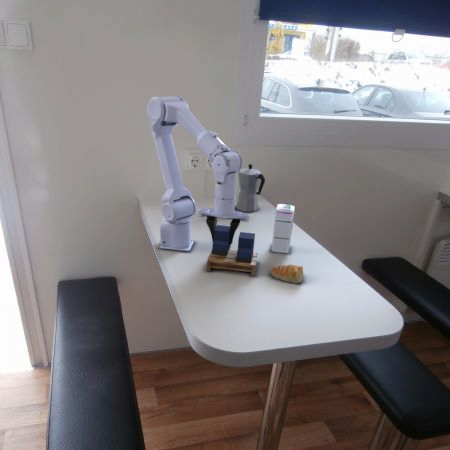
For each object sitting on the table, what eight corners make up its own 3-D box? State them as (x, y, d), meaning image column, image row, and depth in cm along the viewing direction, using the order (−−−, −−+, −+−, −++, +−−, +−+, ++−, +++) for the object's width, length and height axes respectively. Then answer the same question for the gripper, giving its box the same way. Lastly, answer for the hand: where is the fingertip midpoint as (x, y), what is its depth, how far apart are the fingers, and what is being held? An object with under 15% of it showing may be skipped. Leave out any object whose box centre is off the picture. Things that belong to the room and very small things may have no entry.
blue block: (216, 245, 123) (217, 224, 120) (230, 246, 123) (232, 226, 119) (211, 254, 117) (212, 233, 114) (226, 256, 117) (227, 235, 114)
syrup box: (288, 253, 133) (294, 210, 125) (270, 251, 133) (275, 208, 126) (289, 246, 137) (295, 205, 130) (272, 244, 138) (277, 203, 131)
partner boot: (238, 251, 123) (240, 231, 120) (253, 253, 123) (255, 233, 120) (236, 261, 117) (237, 240, 114) (251, 263, 117) (253, 242, 114)
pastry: (269, 280, 116) (270, 268, 114) (271, 269, 122) (273, 258, 120) (302, 284, 115) (304, 272, 113) (303, 274, 121) (305, 262, 119)
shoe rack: (206, 270, 119) (207, 260, 117) (212, 258, 127) (212, 247, 125) (254, 276, 118) (255, 265, 116) (256, 263, 126) (257, 252, 124)
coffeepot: (228, 205, 171) (231, 161, 162) (245, 202, 176) (249, 159, 167) (252, 216, 161) (256, 170, 152) (269, 212, 166) (274, 167, 157)
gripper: (252, 195, 116) (248, 239, 123) (202, 190, 117) (201, 234, 124) (249, 202, 110) (245, 249, 117) (197, 197, 111) (196, 243, 118)
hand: (222, 242), depth 120 cm, fingers closed on blue block, 4 cm apart
